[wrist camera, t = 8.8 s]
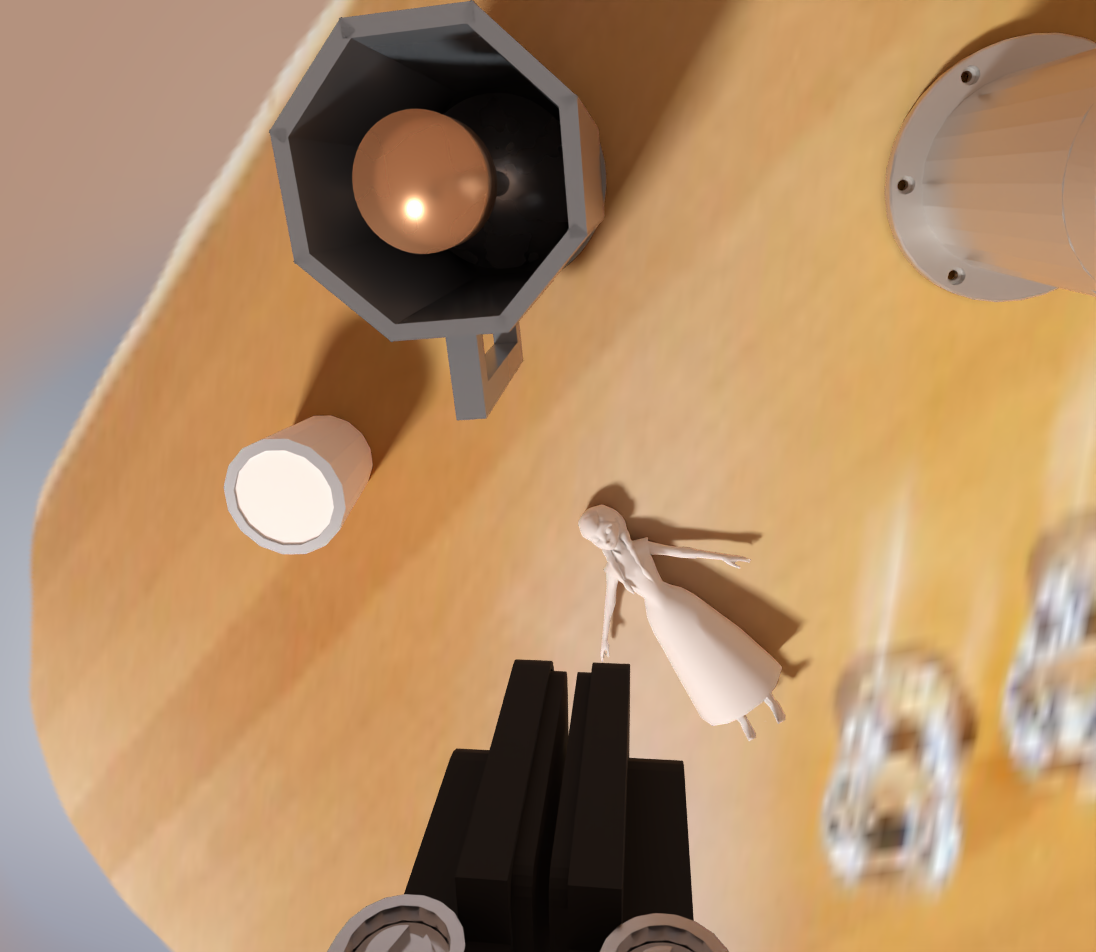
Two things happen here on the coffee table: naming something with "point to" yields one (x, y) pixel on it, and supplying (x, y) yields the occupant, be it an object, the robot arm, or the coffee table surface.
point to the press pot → (444, 278)
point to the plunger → (466, 180)
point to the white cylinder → (298, 484)
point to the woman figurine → (686, 625)
